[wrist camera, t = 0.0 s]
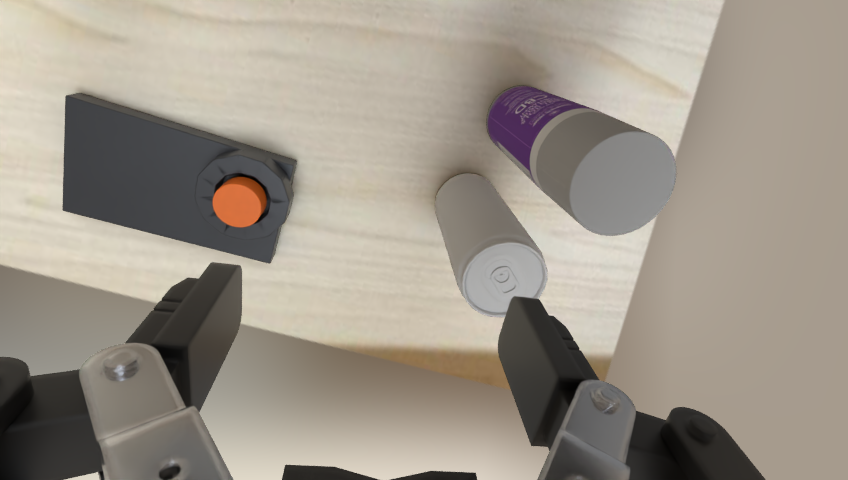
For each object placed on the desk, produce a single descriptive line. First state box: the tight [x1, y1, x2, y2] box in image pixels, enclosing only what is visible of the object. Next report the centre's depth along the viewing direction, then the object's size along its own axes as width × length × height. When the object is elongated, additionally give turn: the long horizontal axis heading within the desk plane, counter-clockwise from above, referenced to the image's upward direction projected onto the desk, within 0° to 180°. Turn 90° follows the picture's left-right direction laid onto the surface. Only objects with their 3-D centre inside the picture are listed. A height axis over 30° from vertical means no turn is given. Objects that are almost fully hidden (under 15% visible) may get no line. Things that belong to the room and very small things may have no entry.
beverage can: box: [435, 173, 547, 317], centre depth 28 cm, size 5×5×12 cm
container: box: [487, 86, 676, 236], centre depth 24 cm, size 5×5×15 cm
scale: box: [63, 93, 297, 263], centre depth 30 cm, size 14×8×3 cm, turn 70°
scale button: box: [213, 177, 267, 227], centre depth 28 cm, size 3×3×2 cm
